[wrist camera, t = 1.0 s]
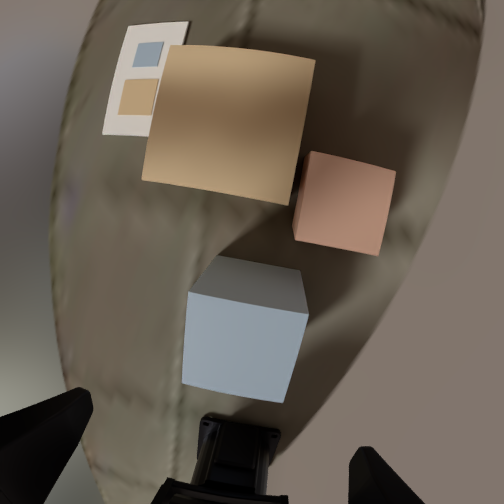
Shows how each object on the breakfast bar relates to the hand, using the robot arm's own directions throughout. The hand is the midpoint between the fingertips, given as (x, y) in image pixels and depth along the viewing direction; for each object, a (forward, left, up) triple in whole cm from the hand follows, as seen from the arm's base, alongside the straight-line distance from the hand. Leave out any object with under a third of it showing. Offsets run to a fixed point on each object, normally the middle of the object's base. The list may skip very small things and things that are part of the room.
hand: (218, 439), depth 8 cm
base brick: (+10, +3, -11) cm, 15 cm away
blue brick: (0, 0, -11) cm, 11 cm away
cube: (+7, -3, -11) cm, 14 cm away
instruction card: (+13, +9, -11) cm, 19 cm away
